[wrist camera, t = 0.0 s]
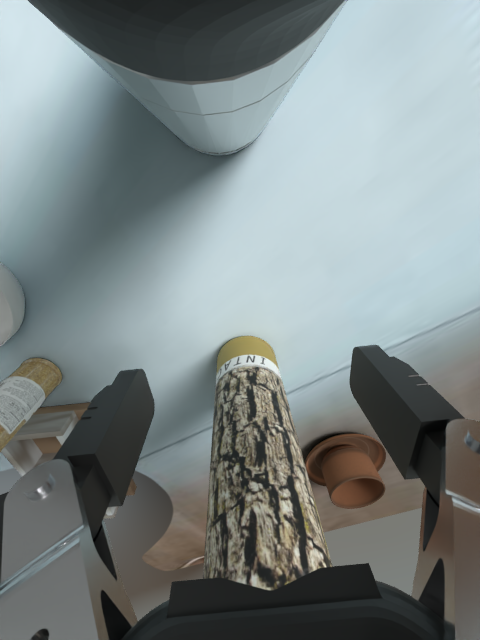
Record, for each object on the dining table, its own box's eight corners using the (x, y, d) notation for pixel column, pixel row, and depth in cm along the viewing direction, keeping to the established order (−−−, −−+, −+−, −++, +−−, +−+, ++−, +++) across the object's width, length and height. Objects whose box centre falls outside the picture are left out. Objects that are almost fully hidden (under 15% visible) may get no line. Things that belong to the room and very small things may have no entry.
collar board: (1, 411, 33) (-28, 439, 29) (93, 401, 33) (76, 429, 29) (63, 494, 42) (48, 524, 38) (136, 487, 42) (127, 516, 38)
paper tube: (284, 363, 31) (418, 793, 9) (237, 387, 33) (256, 806, 11) (255, 322, 28) (348, 800, 6) (205, 351, 30) (143, 816, 8)
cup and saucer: (395, 442, 40) (422, 483, 34) (341, 482, 44) (357, 525, 39) (338, 414, 36) (358, 455, 31) (286, 461, 41) (295, 504, 35)
